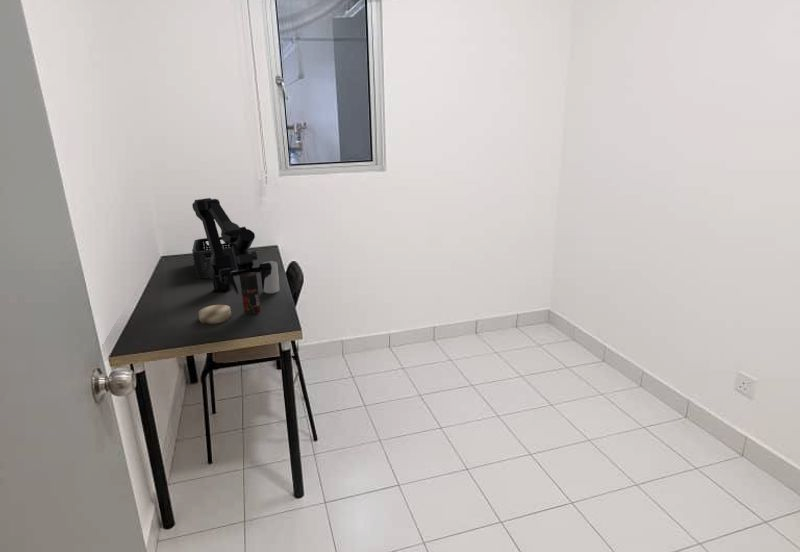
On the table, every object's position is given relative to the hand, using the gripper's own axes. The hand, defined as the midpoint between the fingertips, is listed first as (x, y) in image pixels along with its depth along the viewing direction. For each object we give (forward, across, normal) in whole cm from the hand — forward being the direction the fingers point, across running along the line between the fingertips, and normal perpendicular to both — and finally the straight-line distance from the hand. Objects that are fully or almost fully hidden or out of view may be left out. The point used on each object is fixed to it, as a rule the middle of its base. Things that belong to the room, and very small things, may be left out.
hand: (250, 291), depth 182 cm
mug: (-10, +12, +22) cm, 27 cm away
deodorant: (+5, 0, +7) cm, 9 cm away
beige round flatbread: (+4, -13, +8) cm, 16 cm away
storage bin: (-42, -4, +54) cm, 68 cm away
